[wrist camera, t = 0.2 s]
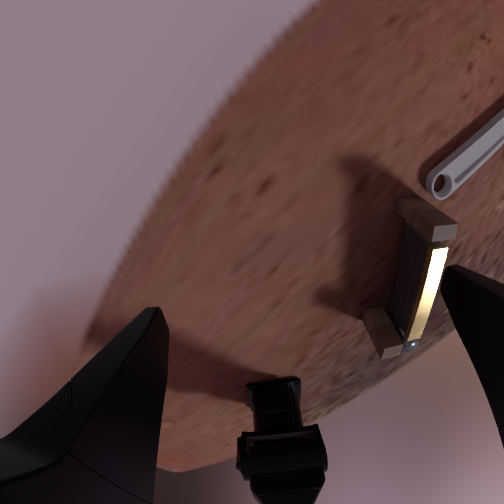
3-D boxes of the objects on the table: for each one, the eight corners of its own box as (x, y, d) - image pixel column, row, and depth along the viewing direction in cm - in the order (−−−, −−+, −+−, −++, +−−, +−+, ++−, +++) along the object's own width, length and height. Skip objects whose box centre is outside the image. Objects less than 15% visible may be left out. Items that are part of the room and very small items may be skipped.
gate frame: (380, 319, 28) (400, 357, 23) (359, 321, 28) (378, 360, 23) (422, 197, 22) (460, 224, 17) (399, 193, 21) (436, 220, 17)
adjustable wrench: (428, 200, 22) (438, 207, 21) (402, 138, 20) (413, 142, 18) (547, 104, 16) (557, 107, 14) (533, 56, 13) (543, 57, 12)
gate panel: (397, 317, 27) (416, 349, 23) (384, 320, 28) (402, 353, 23) (418, 221, 22) (448, 248, 18) (403, 222, 22) (433, 250, 18)
